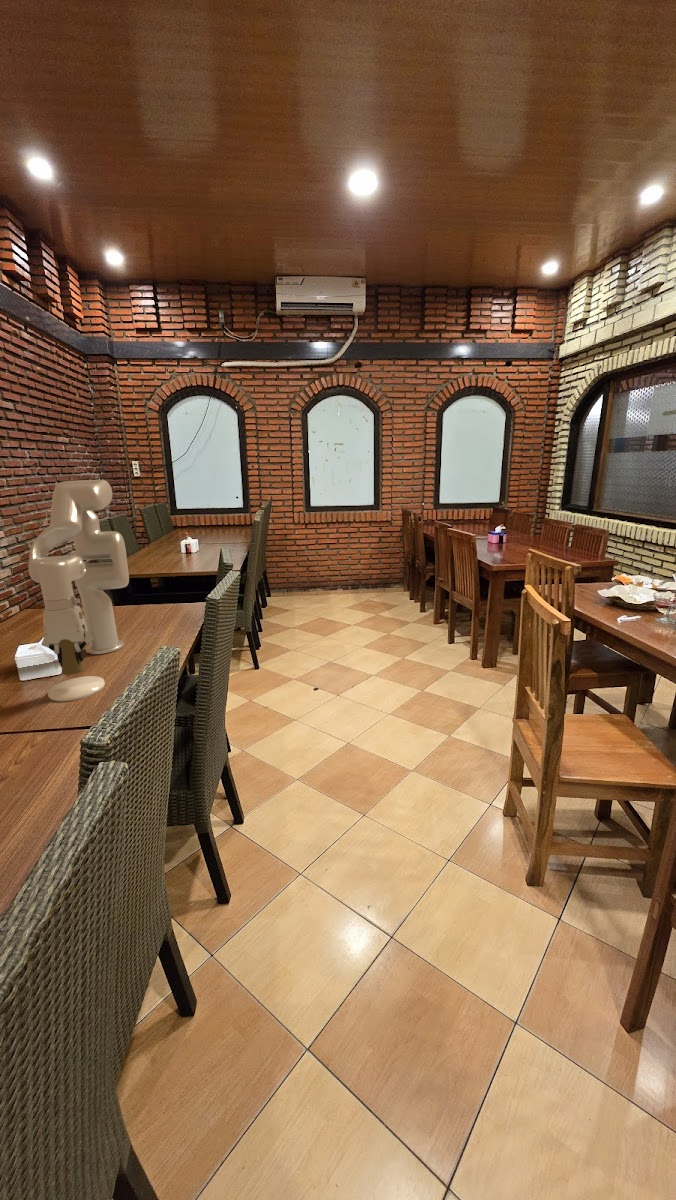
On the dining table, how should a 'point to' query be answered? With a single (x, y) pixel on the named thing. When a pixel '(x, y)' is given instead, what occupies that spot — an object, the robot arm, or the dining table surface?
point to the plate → (76, 688)
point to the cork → (70, 658)
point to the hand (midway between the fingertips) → (72, 663)
